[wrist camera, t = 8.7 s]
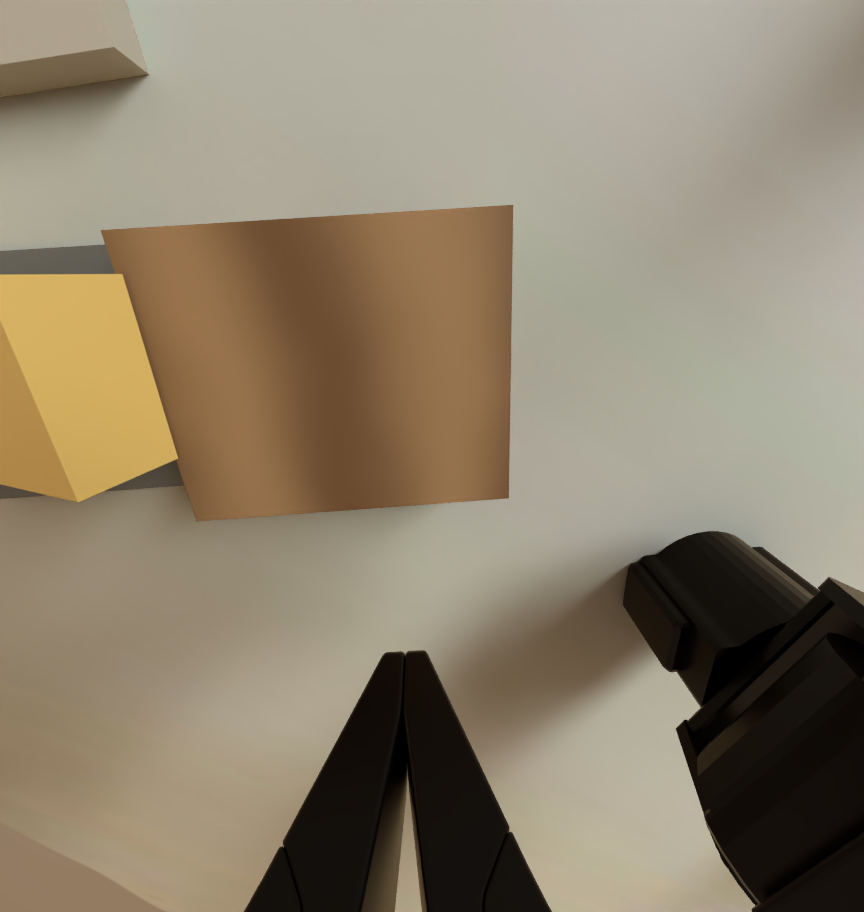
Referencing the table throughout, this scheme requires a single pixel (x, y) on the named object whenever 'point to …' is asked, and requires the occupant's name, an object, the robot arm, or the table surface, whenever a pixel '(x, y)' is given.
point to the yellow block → (75, 387)
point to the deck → (329, 357)
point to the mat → (78, 263)
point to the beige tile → (66, 44)
